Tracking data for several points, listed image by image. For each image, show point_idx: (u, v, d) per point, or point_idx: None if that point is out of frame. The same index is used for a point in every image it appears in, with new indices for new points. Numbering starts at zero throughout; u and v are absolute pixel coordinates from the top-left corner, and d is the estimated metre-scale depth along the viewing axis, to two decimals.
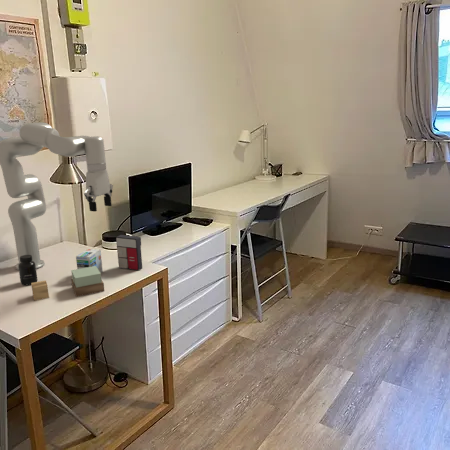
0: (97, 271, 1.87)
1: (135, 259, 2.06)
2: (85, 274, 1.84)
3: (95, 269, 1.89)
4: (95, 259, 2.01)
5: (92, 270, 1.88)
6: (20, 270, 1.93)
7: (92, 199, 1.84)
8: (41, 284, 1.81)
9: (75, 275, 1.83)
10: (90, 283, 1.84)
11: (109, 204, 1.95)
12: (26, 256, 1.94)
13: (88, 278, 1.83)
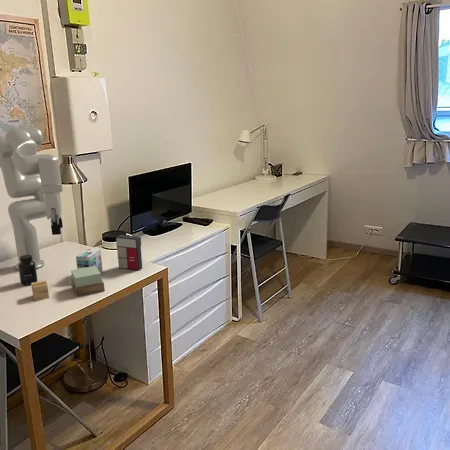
0: (97, 271, 1.87)
1: (135, 259, 2.06)
2: (85, 274, 1.84)
3: (95, 269, 1.89)
4: (95, 259, 2.01)
5: (92, 270, 1.88)
6: (20, 270, 1.93)
7: (57, 221, 1.75)
8: (41, 284, 1.81)
9: (75, 275, 1.83)
10: (90, 283, 1.84)
11: (61, 226, 1.86)
12: (26, 256, 1.94)
13: (87, 278, 1.83)
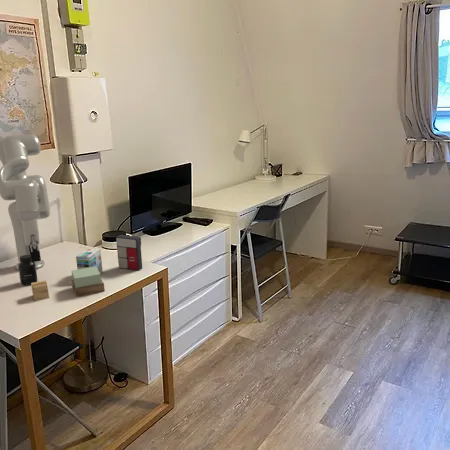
0: (97, 272, 1.87)
1: (135, 259, 2.06)
2: (85, 274, 1.84)
3: (95, 269, 1.89)
4: (95, 259, 2.01)
5: (92, 271, 1.88)
6: (20, 270, 1.93)
7: (37, 248, 1.72)
8: (41, 284, 1.81)
9: (75, 275, 1.83)
10: (89, 284, 1.83)
11: None
12: (26, 256, 1.94)
13: (87, 278, 1.82)
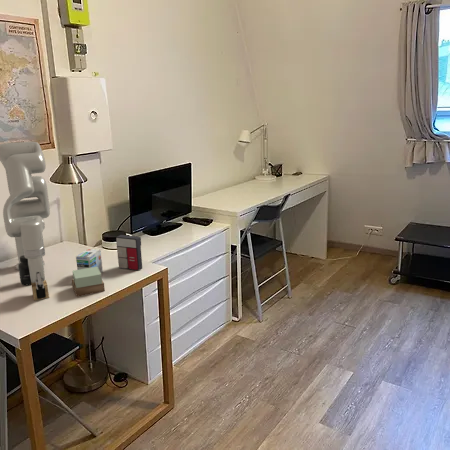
0: (98, 272, 1.86)
1: (135, 259, 2.06)
2: (85, 275, 1.84)
3: (96, 270, 1.89)
4: (95, 259, 2.01)
5: (93, 271, 1.88)
6: (20, 270, 1.93)
7: (42, 286, 1.78)
8: None
9: (75, 275, 1.83)
10: (90, 284, 1.83)
11: None
12: None
13: (88, 278, 1.82)
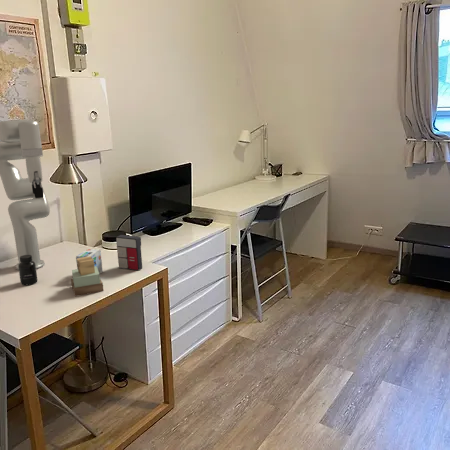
0: (96, 272, 1.87)
1: (135, 259, 2.06)
2: None
3: (95, 269, 1.89)
4: (95, 259, 2.01)
5: None
6: (20, 270, 1.93)
7: (40, 184, 1.79)
8: (87, 259, 1.85)
9: (74, 275, 1.84)
10: (88, 283, 1.84)
11: None
12: (26, 256, 1.94)
13: (86, 278, 1.83)
